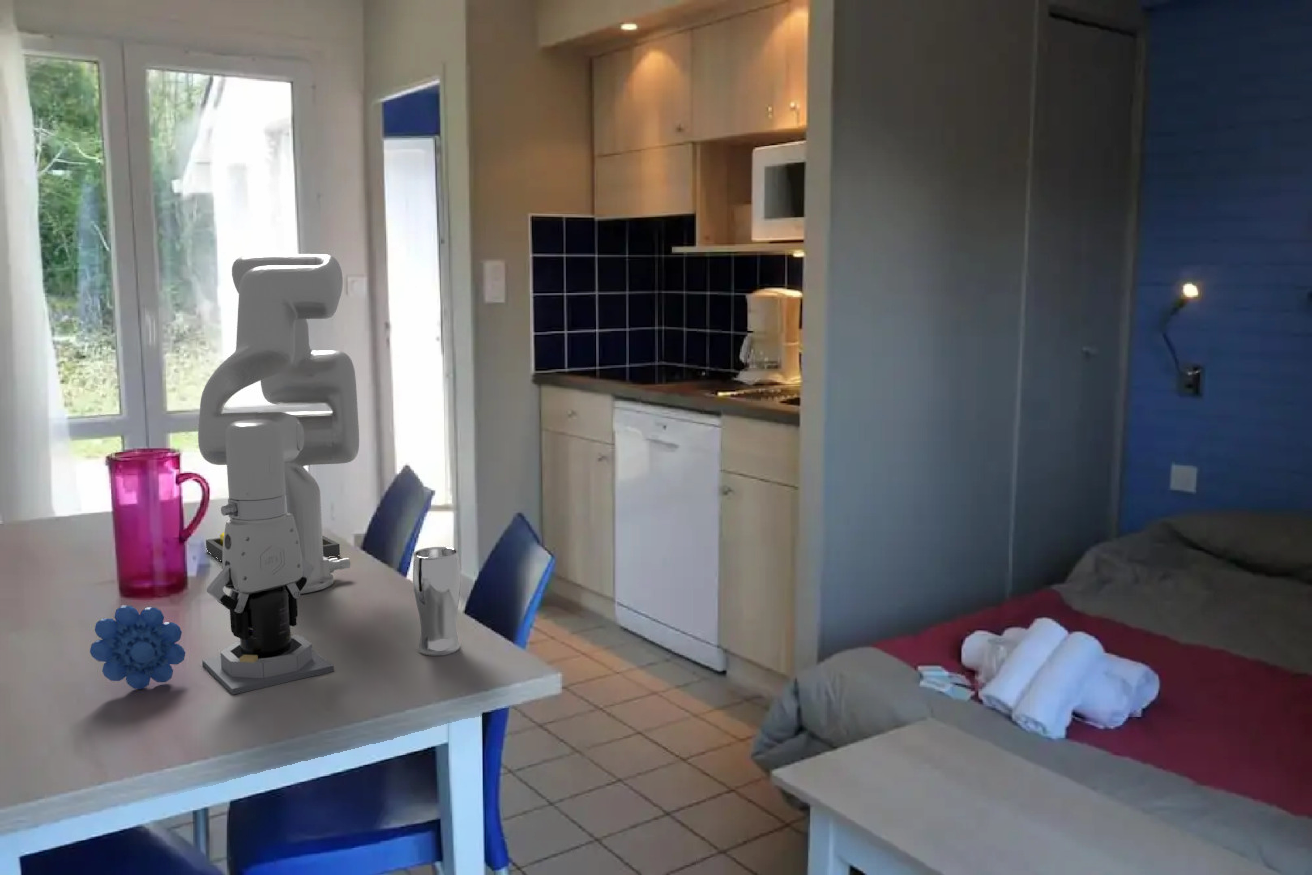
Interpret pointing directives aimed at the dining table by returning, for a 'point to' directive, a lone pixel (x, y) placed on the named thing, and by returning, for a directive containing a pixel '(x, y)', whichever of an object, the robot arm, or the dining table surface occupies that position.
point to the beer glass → (437, 598)
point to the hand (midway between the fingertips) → (265, 629)
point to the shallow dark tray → (328, 545)
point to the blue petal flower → (137, 646)
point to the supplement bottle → (268, 623)
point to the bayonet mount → (265, 666)
